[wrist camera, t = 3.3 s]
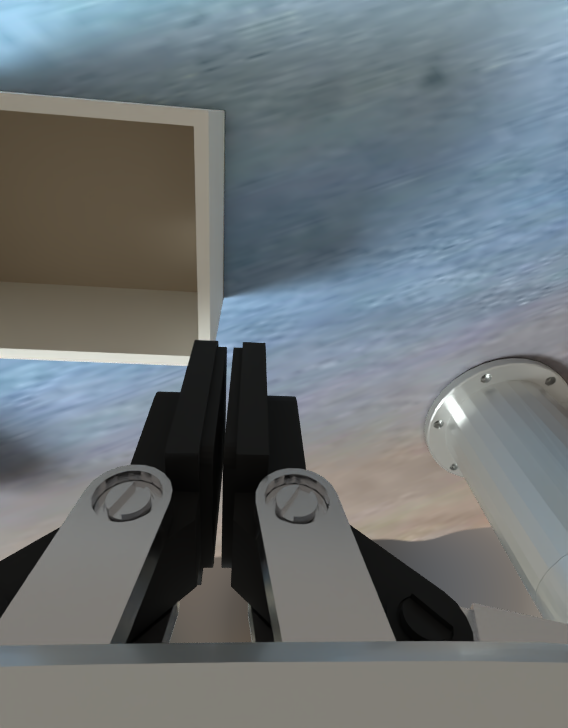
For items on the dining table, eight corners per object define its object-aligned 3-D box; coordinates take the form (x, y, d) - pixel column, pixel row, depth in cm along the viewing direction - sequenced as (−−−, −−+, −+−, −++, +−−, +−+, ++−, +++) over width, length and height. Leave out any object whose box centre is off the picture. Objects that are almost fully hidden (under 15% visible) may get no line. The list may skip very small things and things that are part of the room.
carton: (225, 110, 26) (208, 110, 18) (223, 298, 32) (210, 366, 24) (-57, 86, 25) (-223, 73, 16) (-5, 286, 31) (-107, 353, 22)
